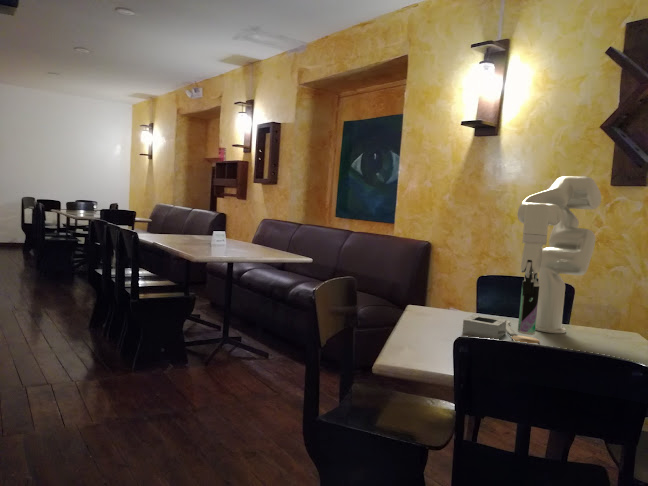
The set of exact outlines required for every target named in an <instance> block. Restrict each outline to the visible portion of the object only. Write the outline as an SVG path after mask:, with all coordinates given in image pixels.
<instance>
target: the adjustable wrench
mask: <svg viewBox="0 0 648 486" xmlns="http://www.w3.org/2000/svg"><path fill="white" fill-rule="evenodd" d="M501 319H502V320H505V319H503V318H501ZM506 320H507V319H506ZM506 332H507V333H508V334H509V335H510V336H519V334H518V333H517V332H516V331H515V330H514V329H513V328H512V327H511V321H510V320H507V321H506ZM507 333H506V334H507ZM508 334H507V335H508ZM509 335H508V336H509ZM510 336H509V337H510Z"/></svg>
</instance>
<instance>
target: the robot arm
mask: <svg viewBox="0 0 648 486" xmlns="http://www.w3.org/2000/svg"><path fill="white" fill-rule="evenodd" d="M601 202H602V194H601V190H600V189H599V187H598V184H597V183H596V181H595V180H594V179H593V178H592V177H590V176H585V175H584V176H583V175H581V176H579V175H578V176H577V175H574V176H572V175H567V176H565V175H564V176H560V177H558V178H557V179H555V180H554V182H552V184H551V185H550V186H549V187H548V189H546V190H542V191H540V192H537V193H534V194H531V195H529V196H527V197H526V198H525V199H524V200H523V201H521V203H520V205H519V207H518V208H517V219H518V221H519V222H520V223H521V224H523V231H522V242H521V243H522V244H524V245H523V250H522V256H521V263H520V272H521V273H524V276H523V278H524V280H523V281H524V284H523V293H525V294H533V289H534V282H533V279H534V278H535V279H536V281H538V282H539V296H538V306H537V317H536V327H535V331H538V332H543V333H549V334H564V333H566V331H567V329H566V328H565V327H564V326H562V324H563V315H564V306H565V297H566V294H565V292H566V284H565V281H564V279H563V277H562V276H561V275H560V274H563V275H571V276H584V275H586V273H587V272H588V269H589V267H590V263H591V260H592V257H593V253H594V249H595V245H596V235H595V233H594V232H593V230H591V229H589V228H584V227H583V228H580V227H579V224H580V223H579V218H578V217H577V216H576V215H575V213H574V212H572V211H571V210H570V209H573V210H596V209H597V208H599V206H600V205H601ZM549 226H553V228H552V230H551V232H550V235H549V239H548V231H549V230H548V229H549ZM547 239H548V241H547ZM547 242H548V245H549V246H547V247H544V248H543V246H546V245H547ZM531 275H532V276H531Z"/></svg>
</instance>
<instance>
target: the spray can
mask: <svg viewBox="0 0 648 486" xmlns="http://www.w3.org/2000/svg"><path fill="white" fill-rule="evenodd" d="M531 276H532V275H531ZM533 282H534V289H533V294H525V293H523V284H524V280H522V284H521V294H520V305H519V314H518V315H519V316H518V325H517V326H518V327H517V332H518V333H519V334H523V335H528V336H529V335H530V336H531V335H534V336H535V334H536V330H535V327H536V317H537V306H538V296H539V282H538V280H536V279H535V278H534V279H533Z"/></svg>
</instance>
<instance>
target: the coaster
mask: <svg viewBox="0 0 648 486" xmlns="http://www.w3.org/2000/svg"><path fill="white" fill-rule="evenodd" d="M511 338H512V339H514V340H515V341H520V342H527V343H539V344H540V343H541V341H540V340H539V339H538V338H535V337H532V336H529V335H528V336H527V335H518V336H512V337H511Z"/></svg>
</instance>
